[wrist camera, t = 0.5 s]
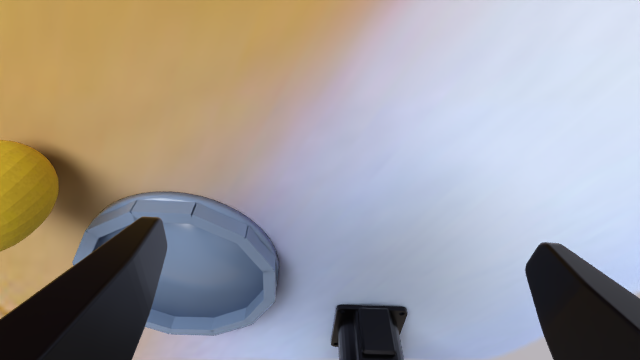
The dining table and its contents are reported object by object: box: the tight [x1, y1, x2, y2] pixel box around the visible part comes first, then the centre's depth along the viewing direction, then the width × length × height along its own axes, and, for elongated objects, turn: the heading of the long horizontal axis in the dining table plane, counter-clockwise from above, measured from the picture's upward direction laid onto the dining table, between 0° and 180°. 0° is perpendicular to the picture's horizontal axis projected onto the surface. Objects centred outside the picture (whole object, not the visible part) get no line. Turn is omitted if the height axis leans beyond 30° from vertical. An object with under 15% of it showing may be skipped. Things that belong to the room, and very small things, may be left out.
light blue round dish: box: [72, 192, 279, 336], centre depth 29 cm, size 15×15×2 cm
